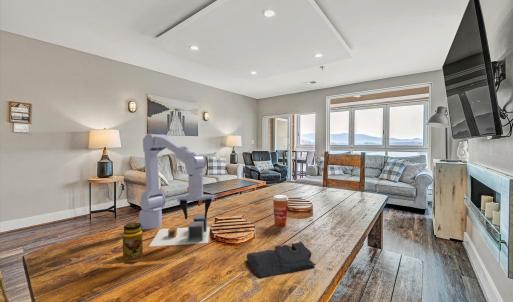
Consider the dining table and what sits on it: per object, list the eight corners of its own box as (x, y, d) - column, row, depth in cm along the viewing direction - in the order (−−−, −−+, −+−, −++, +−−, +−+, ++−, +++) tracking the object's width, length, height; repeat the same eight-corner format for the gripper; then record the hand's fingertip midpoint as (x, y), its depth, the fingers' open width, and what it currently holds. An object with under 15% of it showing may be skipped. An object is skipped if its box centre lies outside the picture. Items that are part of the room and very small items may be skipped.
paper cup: (270, 226, 113) (270, 197, 112) (275, 221, 120) (275, 194, 120) (286, 228, 110) (286, 198, 110) (290, 223, 117) (290, 195, 117)
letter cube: (168, 237, 97) (168, 230, 96) (169, 234, 100) (169, 227, 100) (175, 237, 97) (175, 230, 97) (176, 234, 100) (176, 227, 100)
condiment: (132, 265, 77) (132, 229, 77) (112, 261, 80) (112, 226, 79) (149, 254, 84) (148, 221, 84) (130, 251, 87) (129, 219, 86)
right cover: (193, 232, 102) (193, 218, 102) (194, 227, 108) (194, 214, 108) (206, 231, 103) (206, 218, 103) (207, 227, 109) (207, 214, 108)
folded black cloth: (242, 257, 83) (242, 244, 83) (296, 248, 91) (297, 236, 91) (257, 282, 69) (257, 266, 69) (320, 268, 76) (320, 254, 76)
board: (148, 249, 88) (148, 246, 88) (160, 231, 106) (160, 228, 106) (208, 245, 92) (208, 242, 92) (209, 228, 110) (209, 226, 110)
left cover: (188, 241, 93) (188, 226, 93) (190, 235, 98) (190, 221, 98) (202, 240, 94) (202, 225, 93) (203, 235, 99) (203, 221, 99)
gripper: (175, 187, 90) (175, 222, 91) (213, 186, 92) (213, 220, 93) (178, 184, 97) (178, 216, 98) (214, 183, 99) (214, 214, 100)
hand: (196, 218), depth 96 cm, fingers open, 7 cm apart
